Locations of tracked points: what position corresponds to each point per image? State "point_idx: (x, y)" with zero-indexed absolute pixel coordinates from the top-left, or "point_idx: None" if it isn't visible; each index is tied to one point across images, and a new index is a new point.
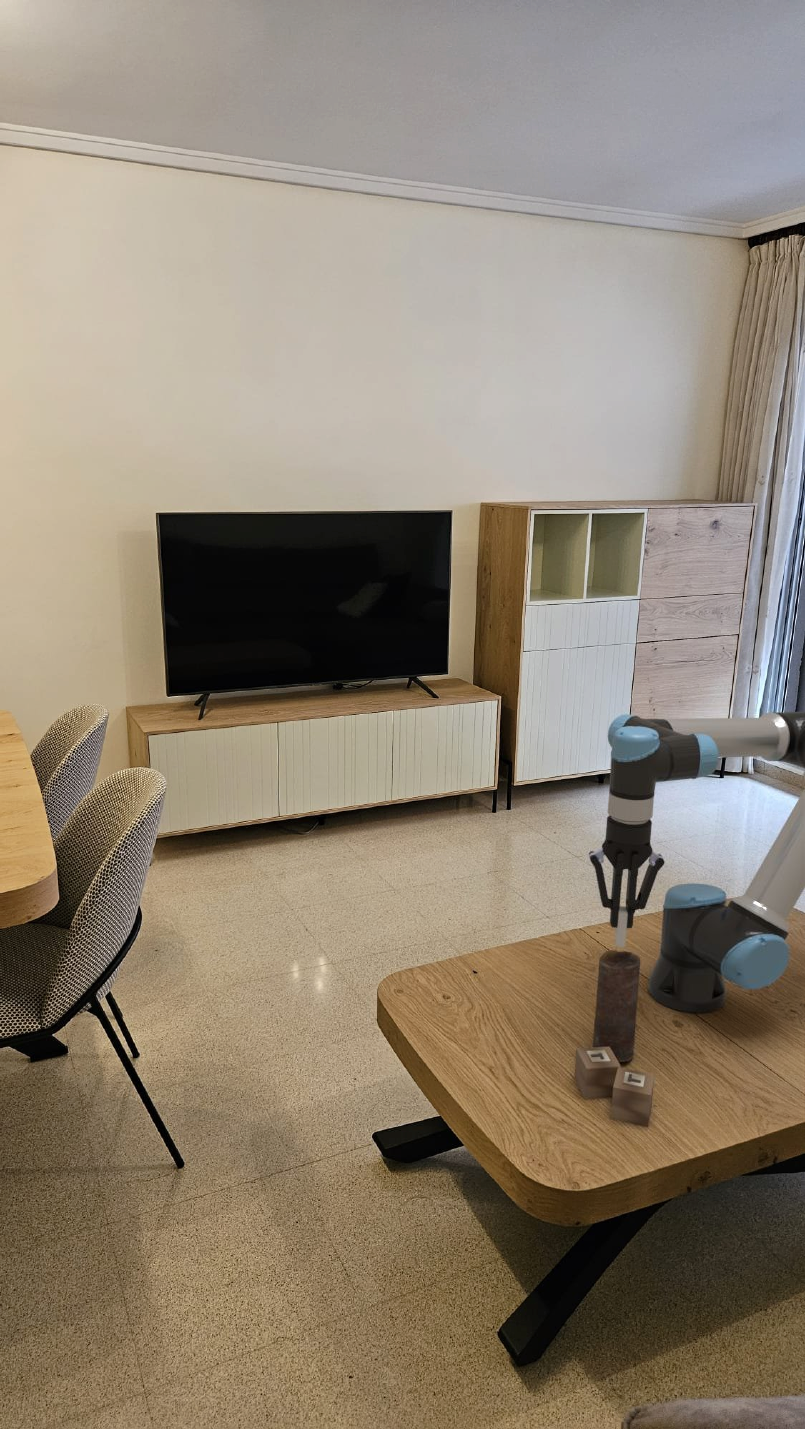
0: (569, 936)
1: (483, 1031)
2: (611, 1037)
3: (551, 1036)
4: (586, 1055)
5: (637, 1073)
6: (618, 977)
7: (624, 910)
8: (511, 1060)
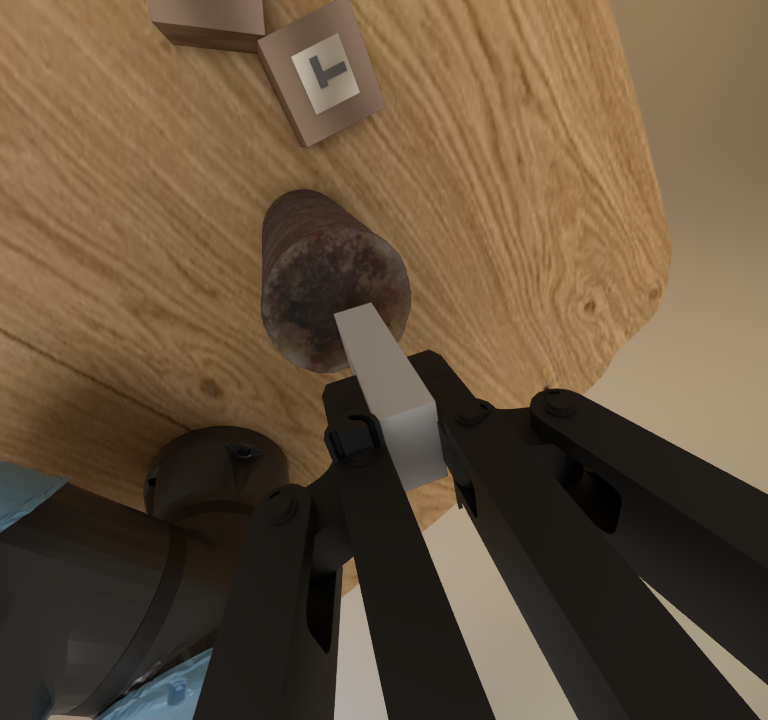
0: (422, 525)
1: (538, 226)
2: (310, 194)
3: (424, 256)
4: (356, 75)
5: (201, 9)
6: (327, 221)
7: (400, 445)
8: (490, 140)
